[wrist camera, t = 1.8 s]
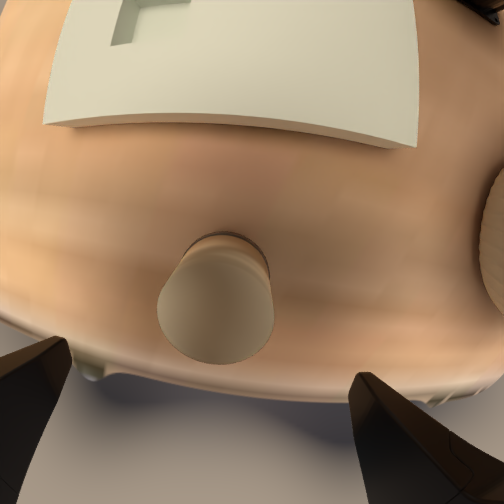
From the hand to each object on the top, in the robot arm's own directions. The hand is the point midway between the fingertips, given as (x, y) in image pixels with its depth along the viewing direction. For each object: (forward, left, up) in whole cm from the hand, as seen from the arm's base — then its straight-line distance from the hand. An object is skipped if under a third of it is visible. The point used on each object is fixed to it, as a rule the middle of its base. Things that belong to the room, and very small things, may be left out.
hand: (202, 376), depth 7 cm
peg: (0, 0, -11) cm, 11 cm away
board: (+1, -14, -10) cm, 17 cm away
